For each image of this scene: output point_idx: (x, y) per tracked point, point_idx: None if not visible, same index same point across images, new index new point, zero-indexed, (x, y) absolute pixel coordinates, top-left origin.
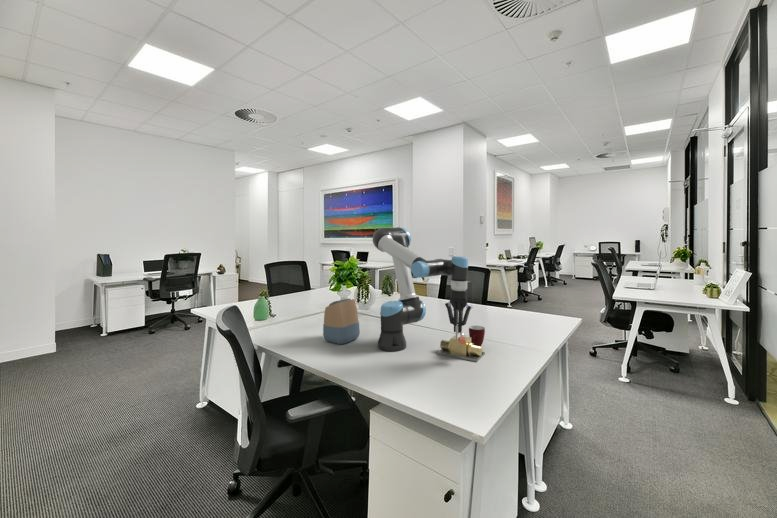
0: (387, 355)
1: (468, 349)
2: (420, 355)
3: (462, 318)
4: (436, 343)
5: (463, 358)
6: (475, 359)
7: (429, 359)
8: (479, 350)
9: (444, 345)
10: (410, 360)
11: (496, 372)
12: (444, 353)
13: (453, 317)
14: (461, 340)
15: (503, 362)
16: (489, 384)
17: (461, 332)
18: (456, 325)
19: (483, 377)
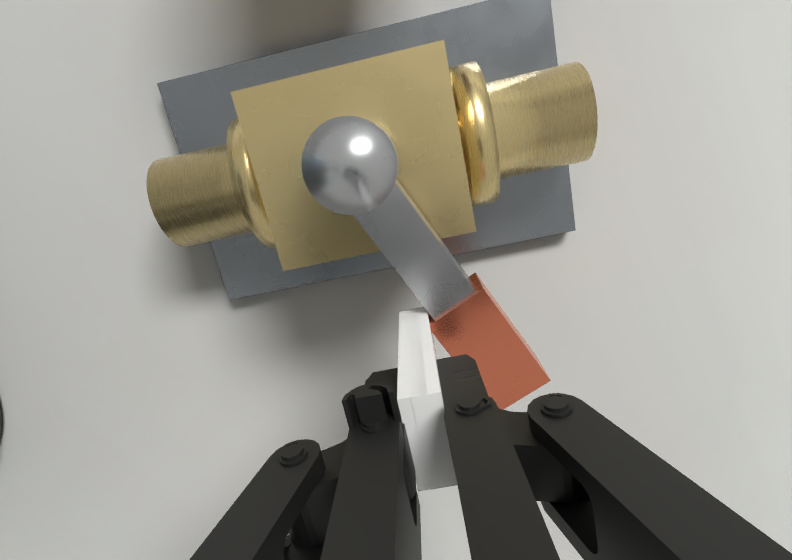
0: (35, 525)
1: (483, 203)
2: (173, 394)
3: (534, 504)
4: (23, 62)
5: (458, 252)
6: (562, 230)
7: (273, 411)
8: (588, 157)
9: (227, 237)
10: (200, 498)
11: (769, 306)
12: (292, 284)
13: (275, 525)
14: (510, 397)
15: (764, 75)
16: (781, 484)
17: (328, 121)
18: (413, 466)
19: (717, 428)
